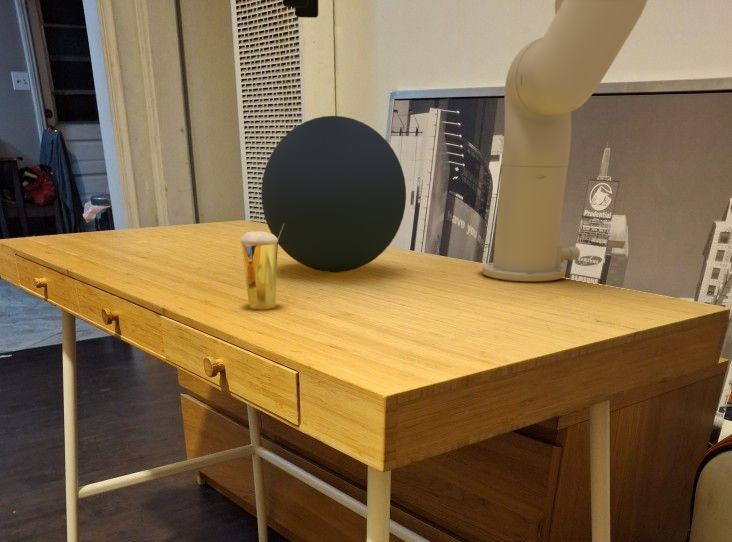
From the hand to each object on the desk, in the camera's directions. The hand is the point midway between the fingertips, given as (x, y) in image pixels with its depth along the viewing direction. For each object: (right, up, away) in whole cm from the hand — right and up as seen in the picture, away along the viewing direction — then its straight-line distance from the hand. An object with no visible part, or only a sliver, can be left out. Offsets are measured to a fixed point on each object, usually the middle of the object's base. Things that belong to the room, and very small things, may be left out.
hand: (301, 12), depth 101 cm
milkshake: (-4, -41, -5) cm, 42 cm away
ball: (+4, -29, +19) cm, 35 cm away
